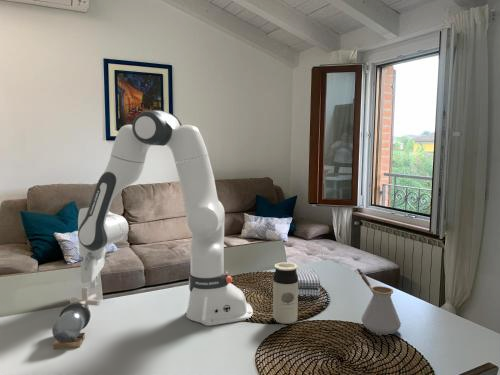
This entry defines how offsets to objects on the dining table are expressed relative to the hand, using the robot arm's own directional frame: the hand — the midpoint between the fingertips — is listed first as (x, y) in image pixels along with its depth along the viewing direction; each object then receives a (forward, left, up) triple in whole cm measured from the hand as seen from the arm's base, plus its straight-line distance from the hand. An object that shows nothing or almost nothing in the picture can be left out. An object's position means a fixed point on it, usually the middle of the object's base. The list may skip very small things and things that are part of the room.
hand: (93, 287), depth 140 cm
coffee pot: (-92, +31, -6) cm, 97 cm away
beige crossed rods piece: (0, +12, -6) cm, 13 cm away
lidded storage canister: (0, +28, -6) cm, 29 cm away
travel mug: (-65, +24, -6) cm, 70 cm away
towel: (-77, -2, -6) cm, 77 cm away
